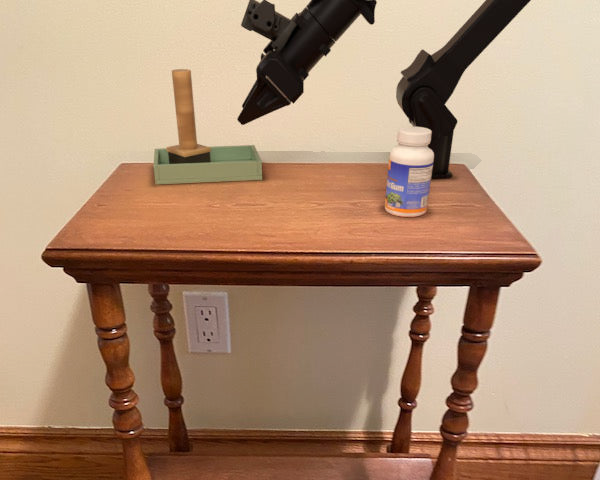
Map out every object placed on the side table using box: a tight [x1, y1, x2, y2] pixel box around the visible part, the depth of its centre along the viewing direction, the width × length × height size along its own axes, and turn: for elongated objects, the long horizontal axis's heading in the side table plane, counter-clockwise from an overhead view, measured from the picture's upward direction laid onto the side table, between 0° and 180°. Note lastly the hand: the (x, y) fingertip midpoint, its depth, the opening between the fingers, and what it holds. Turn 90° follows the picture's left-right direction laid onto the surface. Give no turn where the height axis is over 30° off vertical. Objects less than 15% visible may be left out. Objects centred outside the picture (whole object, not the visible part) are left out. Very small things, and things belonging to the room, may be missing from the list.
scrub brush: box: [165, 68, 211, 164], centre depth 89 cm, size 5×5×13 cm
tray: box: [153, 144, 263, 186], centre depth 93 cm, size 15×10×3 cm, turn 100°
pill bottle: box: [384, 126, 434, 218], centre depth 77 cm, size 5×5×10 cm
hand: (242, 115), depth 89 cm, fingers open, 9 cm apart
